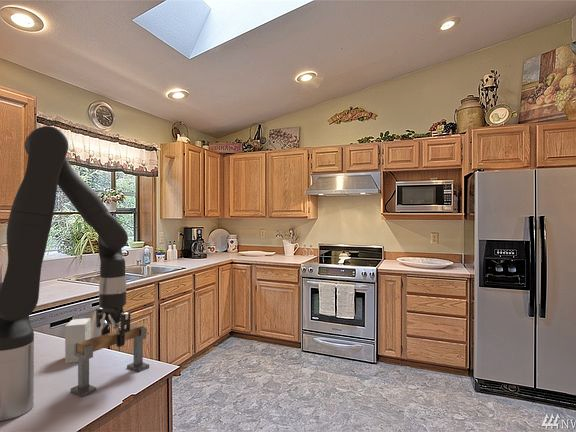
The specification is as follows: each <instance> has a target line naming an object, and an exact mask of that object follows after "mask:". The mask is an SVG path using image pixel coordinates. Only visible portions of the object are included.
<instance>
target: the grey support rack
mask: <svg viewBox="0 0 576 432" xmlns="http://www.w3.org/2000/svg"><path fill="white" fill-rule="evenodd" d="M146 339H147V327H145V326H144V328H141V329H139V336H138V337H135V338H133V362H131V363H129V364H127V365H126V369H128V370H131V371H134V372H137V373H139V372H143V371H144V370H146V369H147V370H148V369H149V368H150V364H149V363H146V362H144V361H143V359H144V357H143V355H144V354H143V351H144V350H143V349H144V345H143V344H144V343H143V341H144V340H146ZM74 356H76V357H78V362H77V385H76V386H74V387H71V388H70V393H73V394H74V395H77V396H79V397H82V398H84V397H87V396H88V395H91V394H93V393H95V392H97V390H98V389H97V386H94V385H91V384H90V359H92V358H94V352H93V345H88V346H85V347H84V355H81V354H78V353H77V343H75V344H74Z"/></svg>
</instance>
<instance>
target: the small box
mask: <svg viewBox="0 0 576 432" xmlns="http://www.w3.org/2000/svg"><path fill="white" fill-rule="evenodd" d="M91 321H92V318H90V317H88V318H87V317H86V318H77V319H75V318H74V319H71V320H69V322H68V323H67V324H65V325H64V335H65V336H64V340H65V341H64V345H65V347H64V352H65V354H64V355H65V356H64V358H65V361H64V363H65V364H71V363H78V357H76V356H74V344H75V343H78V342H82V341H85V340H88V339H91V338H92V337H91V336H92V334H91V333H92V332H91V331H92V326H91V325H92V322H91Z"/></svg>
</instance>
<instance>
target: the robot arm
mask: <svg viewBox="0 0 576 432" xmlns="http://www.w3.org/2000/svg"><path fill="white" fill-rule="evenodd" d="M24 149H25V152H26V153H27V155H28V156H27V161H26V169H25V173H24V176H23V179H22V181H21V183H20V185H19V188H18V190H17V192H16V194H15V197H14V200H13V203H12V206H11V208H10V212H9V216H8V220H7V221H8V222H7V226H6V251H7V266H6V270H5V274H4V278H3V280H2V282H0V422H1V421H7V420H11V419H15V418H17V417H20V416H22V415H24V414H26V413H27V412H29V411H31V410H32V409H33V407H34V405H35V404H34V403H35V401H34V399H35V395H34V394H35V393H34V392H35V391H34V390H35V389H34V385H35V382H34V381H35V380H34V379H35V377H34V375H35V374H34V373H35V372H34V369H35V365H34V364H35V363H34V362H35V361H34V360H35V358H34V357H35V356H34V354H35V346H34V345H35V333H34V329H33V326H32V325H31V321H30V315H31V314H32V313H33V312H34V310H35V309H36V307H37V305H38V302H39V299H40V298H39V296H40V286H41V285H40V284H41V275H42V274H41V273H42V266H43V261H44V257H45V253H46V251H47V250H46V248H47V245H48V240H49V236H50V232H51V228H52V223H53V219H54V218H53V217H54V214H55V213H54V212H55V207H56V199H57V192H58V187H59V189H60V190H61V191H62V192H63V194H64V195H65V196H66V198H67V199H68V200H69V202H70V203H71V204H72V206H73V207H74V209H75V210H76V211H77V212H78V214H79V215H80V216H81V218H82V219H83V220H84V222H85V223H86V224H87V225H88V226H90V227H92V228H93V230H94V231H95V232H96V234H97V235H98V236H97V249H98V254H99V260H100V261H99V262H100V264H99V267H100V269H99V284H98V285H99V287H98V288H99V290H98V295H99V296H98V306H99V308H96V309H95V310H96V311H95V315H96V316H95V317H96V318H95V319H96V322H95V323H96V328H99V330H100V331H101V333H100V336H101V335H104V334H108V333H110V328H111V325H112V328H113V329H114V330H115V331H116V333H117V344H116V347H117V348H121V347H123V346H124V345H125V343H126V341H125V333H126V332H129V331H130V326H131V312H129V311H128V312H125V311H124V306H125V305H127V279H126V260H125V258H124V257H123V252H122V249H123V248H125V246H126V245H127V244H128V242H129V235H128V233H127V231H126V229H125V228H124V227H123V226H122V224H121V223H120V222H119V221H118V220H117V219H116V218H115V216H113V215H112V214H111V212H110V211H109V209H108V208H107V206H106V205H105V203H104V202H103V200H102V199H101V198H100V196H99V195H98V193H97V192H96V191H95V190H94V189H93V188H92V187H91V186H90V185H89V184H88V183H87V182H86V181H85V180H84V179H83V178H81V176H80V175H79V174H78V173H77V172H76V171H75V169H74V168H73V166H72V165H71V163H70V162H69V160H68V158H67V154H68V152H69V141H68V139H67V136H66V135H65V134H64V132H63V131H62V130H60V129H59V128H57V127H55V126H52V125H51V126H49V125H46V126H45V125H44V126H40V127H37V128H36V129H34V130H32V131H31V132H30V133H29V134H28V136H27V137H26V138H25V141H24Z"/></svg>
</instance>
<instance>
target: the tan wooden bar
mask: <svg viewBox="0 0 576 432" xmlns="http://www.w3.org/2000/svg"><path fill="white" fill-rule="evenodd" d="M144 327H145V325H143V324H139V323H138V324H134V325H130V331H129V332H126V333H125V342H126V341H129V340H132V339H134V338H135V337H138V336H139V329H141V328H144ZM88 345H93V353H94V352H96V351H100V350H103V349H105V348H108V347H112V346H115V345H117V333H116V330H115V331H112V332H109V333H108V334H104V335H101V334H100V335H98V336H95V337H91V339H88V340H85V341H82V342H78V343H77V353H78V354H81V355H84V347H85V346H88Z"/></svg>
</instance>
